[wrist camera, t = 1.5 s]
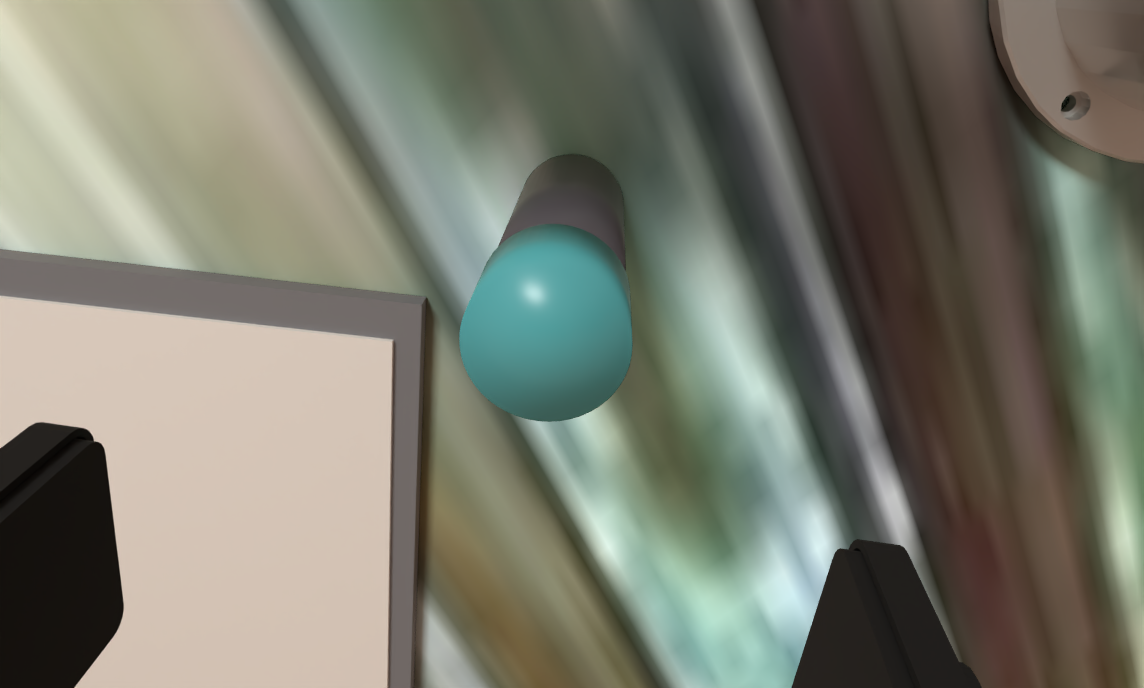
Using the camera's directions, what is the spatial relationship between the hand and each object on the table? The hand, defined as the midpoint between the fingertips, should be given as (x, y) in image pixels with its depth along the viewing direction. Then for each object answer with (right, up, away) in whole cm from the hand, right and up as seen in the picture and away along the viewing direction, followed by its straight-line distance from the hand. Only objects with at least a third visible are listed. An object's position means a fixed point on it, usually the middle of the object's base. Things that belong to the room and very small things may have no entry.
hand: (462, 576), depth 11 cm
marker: (+1, +8, +19) cm, 20 cm away
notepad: (-14, -5, +25) cm, 29 cm away
